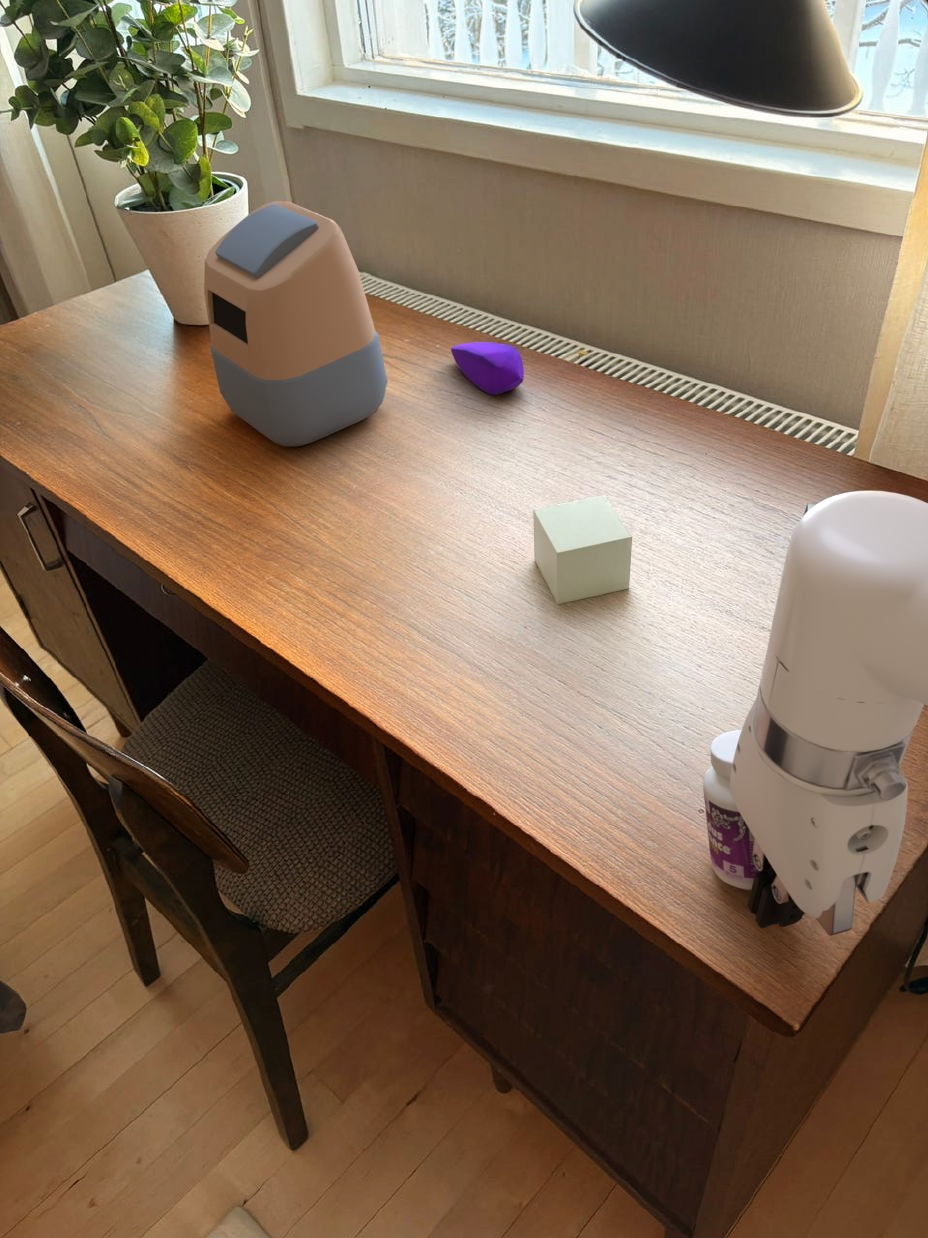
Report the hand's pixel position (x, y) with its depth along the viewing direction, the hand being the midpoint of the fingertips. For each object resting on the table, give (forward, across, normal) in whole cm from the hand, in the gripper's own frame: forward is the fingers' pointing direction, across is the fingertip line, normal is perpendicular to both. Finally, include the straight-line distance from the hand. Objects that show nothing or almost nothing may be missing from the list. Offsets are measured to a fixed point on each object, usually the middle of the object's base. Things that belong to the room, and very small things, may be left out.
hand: (775, 911), depth 60 cm
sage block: (+2, +38, -1) cm, 38 cm away
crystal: (+2, +78, -4) cm, 79 cm away
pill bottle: (+1, +4, 0) cm, 4 cm away
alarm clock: (+2, +78, +19) cm, 81 cm away
